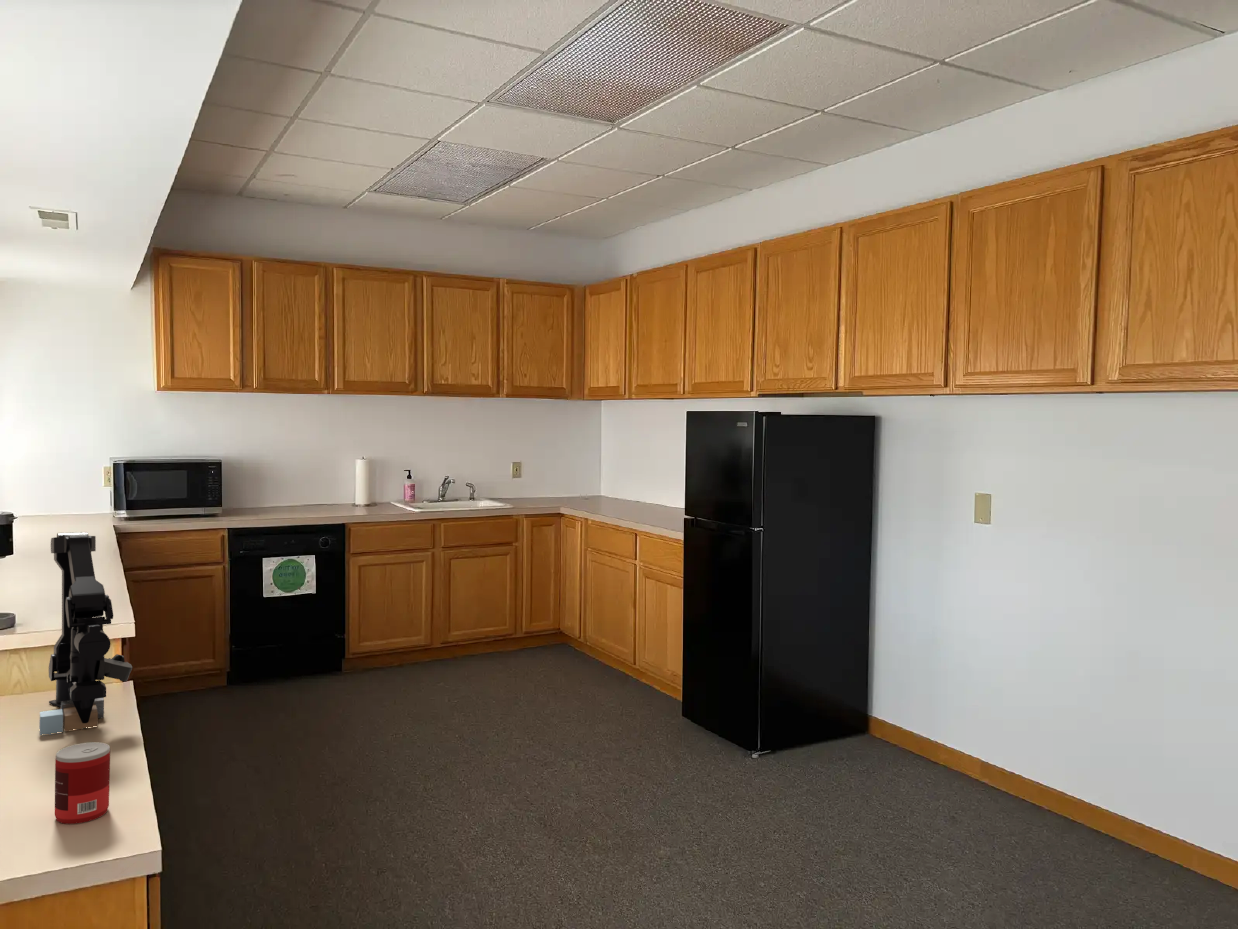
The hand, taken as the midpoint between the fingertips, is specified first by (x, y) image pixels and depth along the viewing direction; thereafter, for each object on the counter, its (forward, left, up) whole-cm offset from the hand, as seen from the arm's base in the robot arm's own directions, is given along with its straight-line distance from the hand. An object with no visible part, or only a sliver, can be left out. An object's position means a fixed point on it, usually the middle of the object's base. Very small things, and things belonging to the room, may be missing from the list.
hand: (85, 722), depth 189 cm
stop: (-8, +4, -2) cm, 9 cm away
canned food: (+39, -23, -2) cm, 46 cm away
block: (-5, -4, -2) cm, 7 cm away
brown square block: (-4, +1, -2) cm, 5 cm away
